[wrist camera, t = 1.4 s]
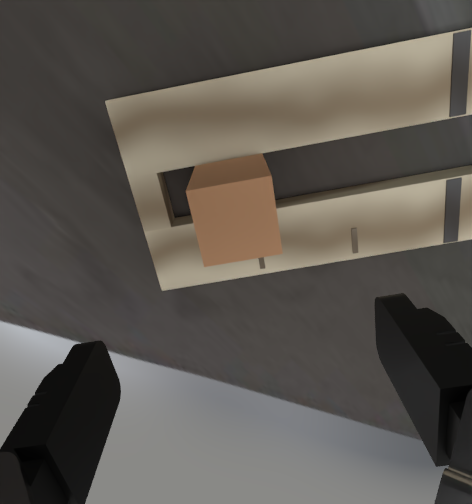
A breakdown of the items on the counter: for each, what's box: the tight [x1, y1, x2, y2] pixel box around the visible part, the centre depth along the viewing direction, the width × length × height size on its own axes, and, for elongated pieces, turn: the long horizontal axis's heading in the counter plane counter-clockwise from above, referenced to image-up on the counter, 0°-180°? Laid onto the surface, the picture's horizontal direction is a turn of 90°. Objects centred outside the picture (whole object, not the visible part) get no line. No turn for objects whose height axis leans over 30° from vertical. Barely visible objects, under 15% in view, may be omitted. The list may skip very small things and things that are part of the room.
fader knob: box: [186, 153, 283, 267], centre depth 24 cm, size 4×4×9 cm
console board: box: [105, 28, 472, 291], centre depth 27 cm, size 14×30×2 cm, turn 100°
